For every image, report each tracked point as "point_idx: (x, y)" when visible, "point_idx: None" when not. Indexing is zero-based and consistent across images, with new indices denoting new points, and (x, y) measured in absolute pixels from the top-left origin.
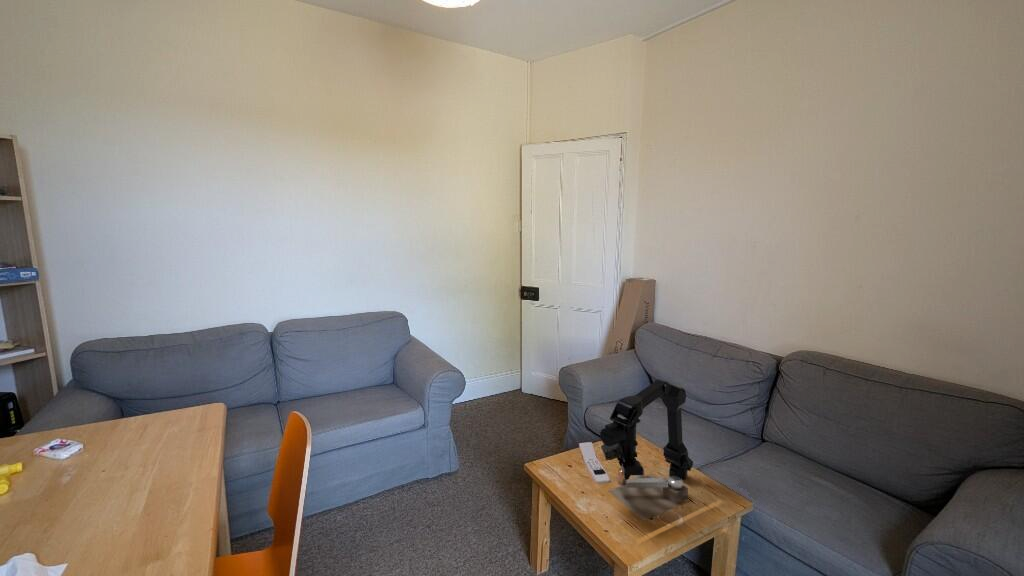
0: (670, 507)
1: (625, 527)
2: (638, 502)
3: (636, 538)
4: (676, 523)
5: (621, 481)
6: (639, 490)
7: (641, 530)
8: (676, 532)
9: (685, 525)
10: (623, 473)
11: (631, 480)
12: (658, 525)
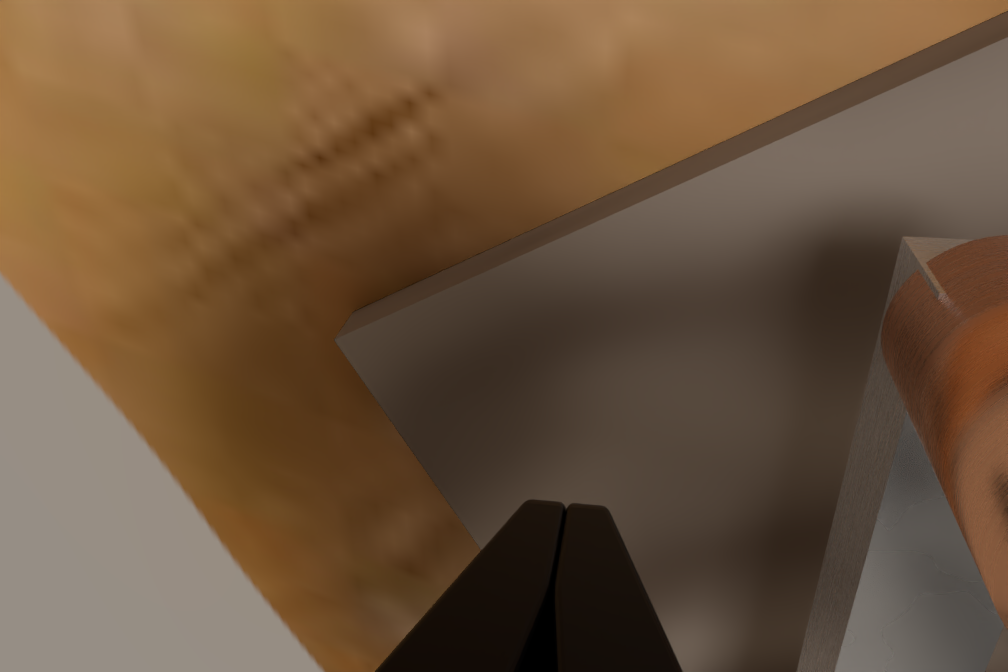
0: None
1: (282, 68)
2: (707, 395)
3: (114, 156)
4: (408, 606)
5: (931, 336)
6: None
7: (259, 256)
8: (285, 559)
9: (387, 655)
10: (636, 606)
11: (947, 541)
12: (364, 453)
